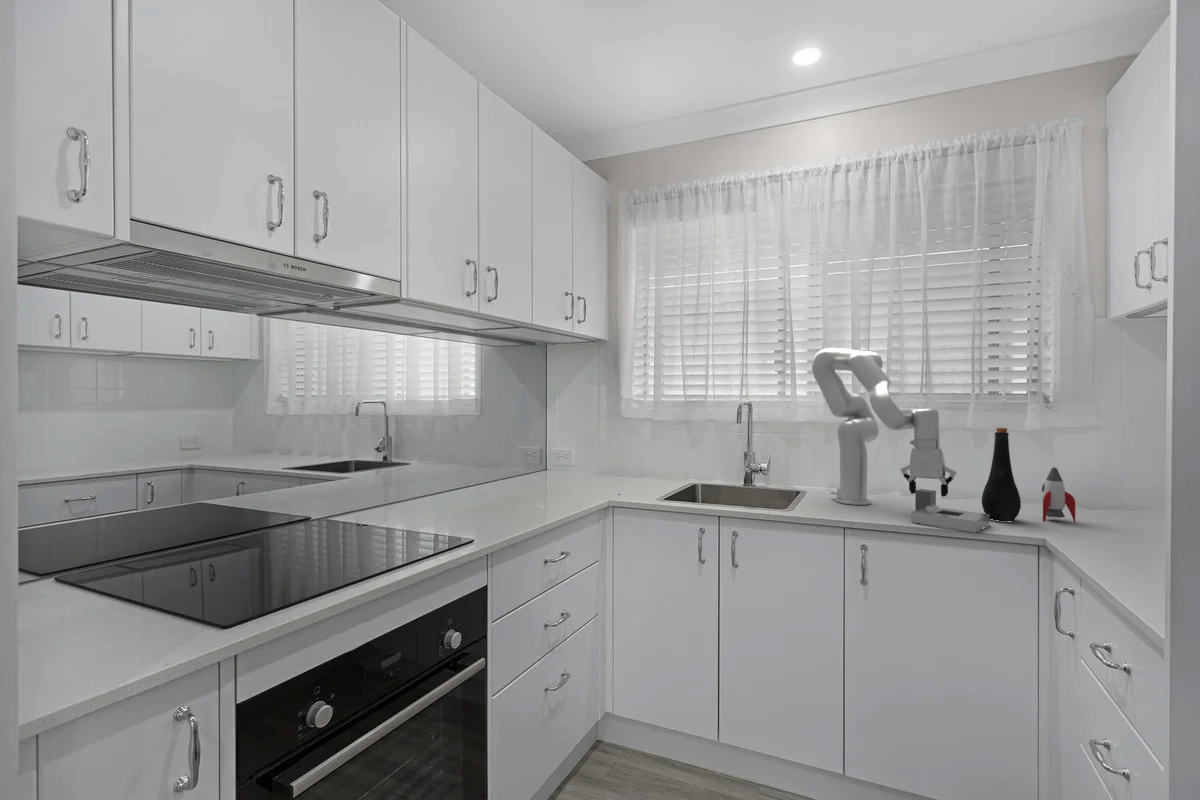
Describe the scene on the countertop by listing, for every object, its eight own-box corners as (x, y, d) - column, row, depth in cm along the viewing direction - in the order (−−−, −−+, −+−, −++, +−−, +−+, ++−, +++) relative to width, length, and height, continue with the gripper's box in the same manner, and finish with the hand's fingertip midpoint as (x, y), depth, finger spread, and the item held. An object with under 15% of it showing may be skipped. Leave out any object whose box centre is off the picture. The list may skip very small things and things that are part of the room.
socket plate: (911, 522, 188) (911, 509, 188) (927, 516, 198) (927, 503, 198) (975, 532, 175) (975, 518, 175) (989, 525, 184) (989, 511, 184)
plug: (915, 513, 202) (915, 490, 202) (923, 510, 207) (923, 488, 207) (930, 516, 198) (930, 492, 198) (938, 512, 203) (938, 489, 203)
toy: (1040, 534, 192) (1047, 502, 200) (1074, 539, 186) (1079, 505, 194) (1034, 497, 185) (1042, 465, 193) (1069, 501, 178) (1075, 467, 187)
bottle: (1020, 525, 185) (1021, 429, 184) (980, 520, 191) (980, 428, 191) (1021, 519, 193) (1022, 427, 193) (982, 514, 200) (983, 426, 199)
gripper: (896, 444, 205) (897, 493, 205) (951, 446, 192) (952, 498, 192) (904, 443, 210) (906, 491, 210) (959, 444, 197) (960, 495, 197)
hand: (928, 494), depth 201 cm, fingers open, 9 cm apart
